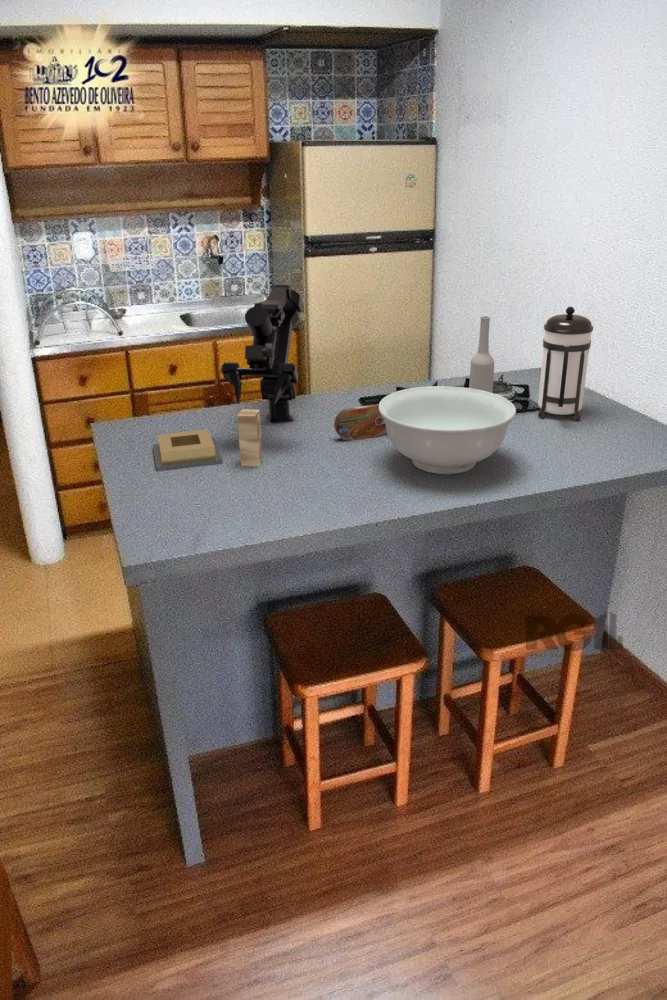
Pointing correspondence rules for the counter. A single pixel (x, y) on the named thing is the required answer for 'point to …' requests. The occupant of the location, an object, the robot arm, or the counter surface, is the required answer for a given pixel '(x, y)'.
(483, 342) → the bottle
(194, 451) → the socket
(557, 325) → the coffee press
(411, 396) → the bowl
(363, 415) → the tin
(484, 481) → the counter surface
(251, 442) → the pin
